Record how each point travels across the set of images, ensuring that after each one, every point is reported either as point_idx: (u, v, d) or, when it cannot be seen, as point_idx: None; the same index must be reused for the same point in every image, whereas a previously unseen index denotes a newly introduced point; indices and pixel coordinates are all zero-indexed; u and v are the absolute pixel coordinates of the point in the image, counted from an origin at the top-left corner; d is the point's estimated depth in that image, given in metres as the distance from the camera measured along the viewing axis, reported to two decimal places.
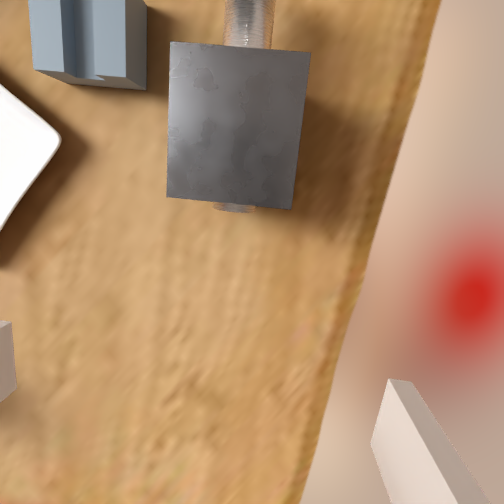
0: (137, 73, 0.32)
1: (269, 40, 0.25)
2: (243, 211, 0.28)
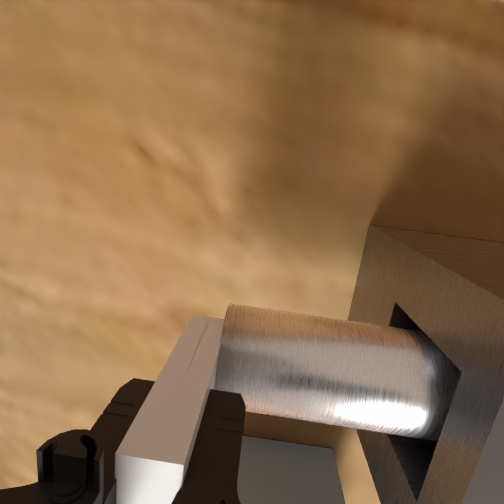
0: (324, 477, 0.21)
1: (390, 344, 0.11)
2: None
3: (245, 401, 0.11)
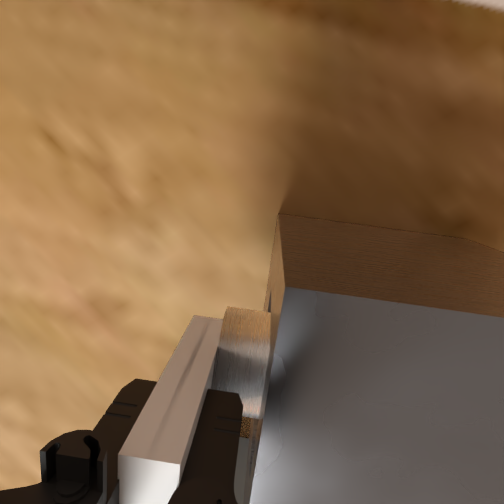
0: (240, 467, 0.21)
1: None
2: None
3: (243, 407, 0.11)
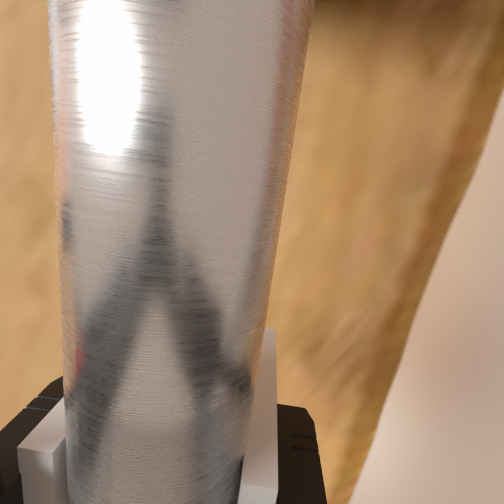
0: None
1: None
2: None
3: None
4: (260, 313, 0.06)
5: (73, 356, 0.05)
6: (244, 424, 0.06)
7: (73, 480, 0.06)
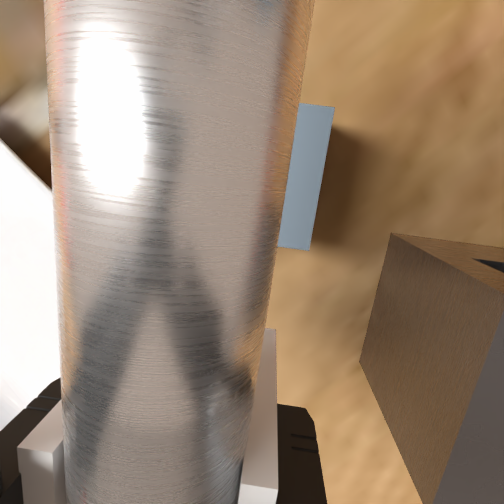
0: None
1: None
2: None
3: None
4: (260, 315, 0.06)
5: (71, 359, 0.05)
6: (244, 427, 0.06)
7: (71, 484, 0.06)
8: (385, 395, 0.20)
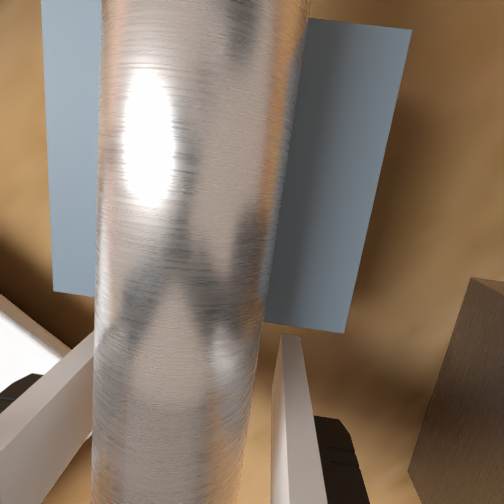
0: None
1: None
2: None
3: None
4: (262, 288, 0.07)
5: (108, 320, 0.06)
6: (248, 388, 0.07)
7: (101, 434, 0.07)
8: None
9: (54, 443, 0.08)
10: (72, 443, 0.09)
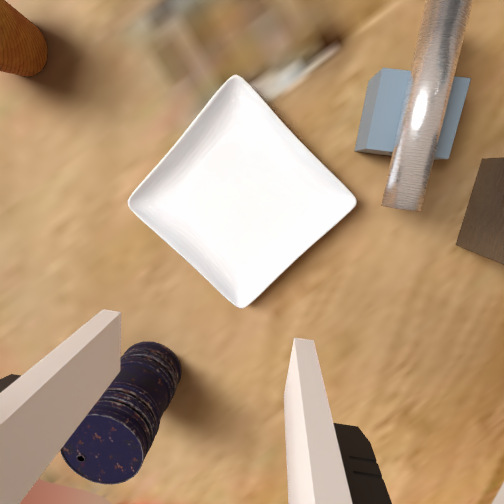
0: None
1: None
2: (417, 210, 0.32)
3: None
4: (439, 134, 0.32)
5: (412, 138, 0.31)
6: None
7: (404, 166, 0.32)
8: (486, 246, 0.36)
9: (30, 446, 0.08)
10: (51, 445, 0.09)
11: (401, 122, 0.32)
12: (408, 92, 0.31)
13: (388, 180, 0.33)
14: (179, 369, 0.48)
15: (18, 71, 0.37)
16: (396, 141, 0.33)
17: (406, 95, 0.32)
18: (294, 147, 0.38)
